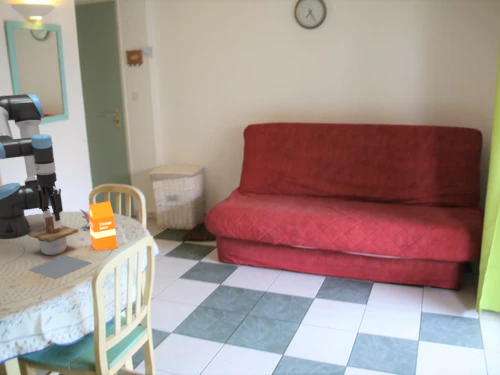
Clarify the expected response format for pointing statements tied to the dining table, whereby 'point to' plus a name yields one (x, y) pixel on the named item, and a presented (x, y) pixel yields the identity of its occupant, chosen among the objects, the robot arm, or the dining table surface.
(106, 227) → the orange juice
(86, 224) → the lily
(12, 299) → the dining table surface
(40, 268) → the mat
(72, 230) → the lid
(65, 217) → the dining table surface
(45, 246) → the teacup
